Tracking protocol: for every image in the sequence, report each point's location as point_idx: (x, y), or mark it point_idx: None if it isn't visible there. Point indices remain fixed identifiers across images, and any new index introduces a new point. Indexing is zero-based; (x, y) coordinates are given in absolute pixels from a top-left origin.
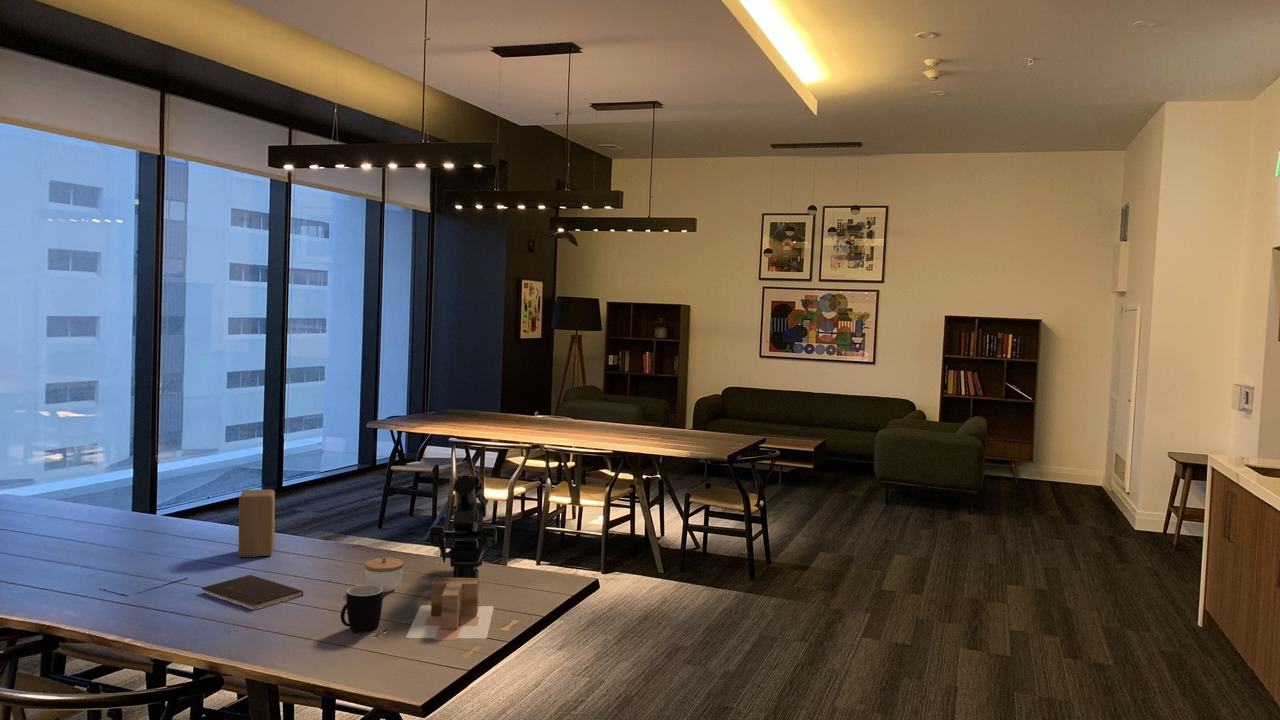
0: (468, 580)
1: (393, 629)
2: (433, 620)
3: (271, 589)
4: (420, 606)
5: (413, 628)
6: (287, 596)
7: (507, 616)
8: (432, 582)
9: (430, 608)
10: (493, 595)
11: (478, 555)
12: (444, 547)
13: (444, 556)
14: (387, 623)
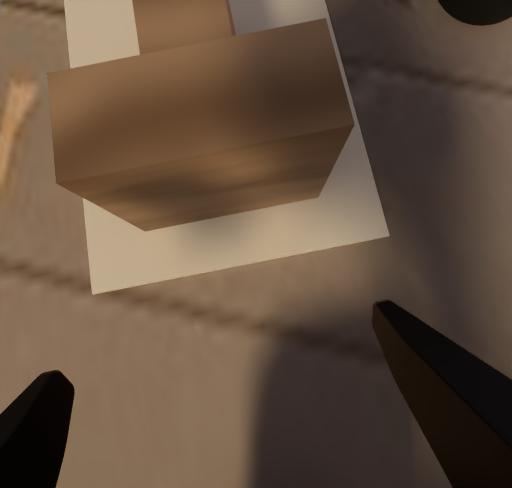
0: (114, 118)
1: (381, 8)
2: None
3: None
4: (385, 223)
5: (317, 14)
6: None
7: (28, 206)
8: (326, 31)
9: (337, 211)
10: (126, 456)
11: (2, 425)
12: (500, 432)
13: (402, 327)
14: (427, 50)
